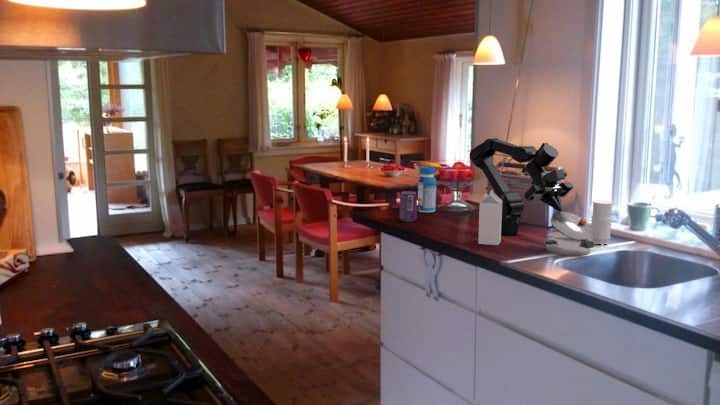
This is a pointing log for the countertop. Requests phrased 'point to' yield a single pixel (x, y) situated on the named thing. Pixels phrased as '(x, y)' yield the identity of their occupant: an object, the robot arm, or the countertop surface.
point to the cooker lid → (572, 226)
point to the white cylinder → (601, 221)
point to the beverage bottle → (427, 190)
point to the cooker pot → (567, 245)
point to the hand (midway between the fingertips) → (561, 210)
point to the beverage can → (408, 206)
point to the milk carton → (490, 219)
